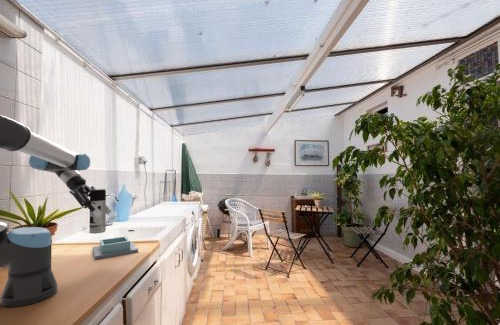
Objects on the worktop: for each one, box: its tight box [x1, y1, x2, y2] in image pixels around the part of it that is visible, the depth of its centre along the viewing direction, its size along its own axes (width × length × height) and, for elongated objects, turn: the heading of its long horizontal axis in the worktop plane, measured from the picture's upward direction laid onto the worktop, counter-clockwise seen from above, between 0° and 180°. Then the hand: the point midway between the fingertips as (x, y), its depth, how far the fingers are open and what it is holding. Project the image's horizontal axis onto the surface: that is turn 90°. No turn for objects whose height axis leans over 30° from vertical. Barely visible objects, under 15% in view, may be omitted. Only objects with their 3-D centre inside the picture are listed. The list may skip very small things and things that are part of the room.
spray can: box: [89, 188, 107, 235], centre depth 125 cm, size 7×7×20 cm
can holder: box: [92, 235, 139, 260], centre depth 143 cm, size 20×20×6 cm
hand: (104, 214), depth 124 cm, fingers closed on spray can, 7 cm apart
